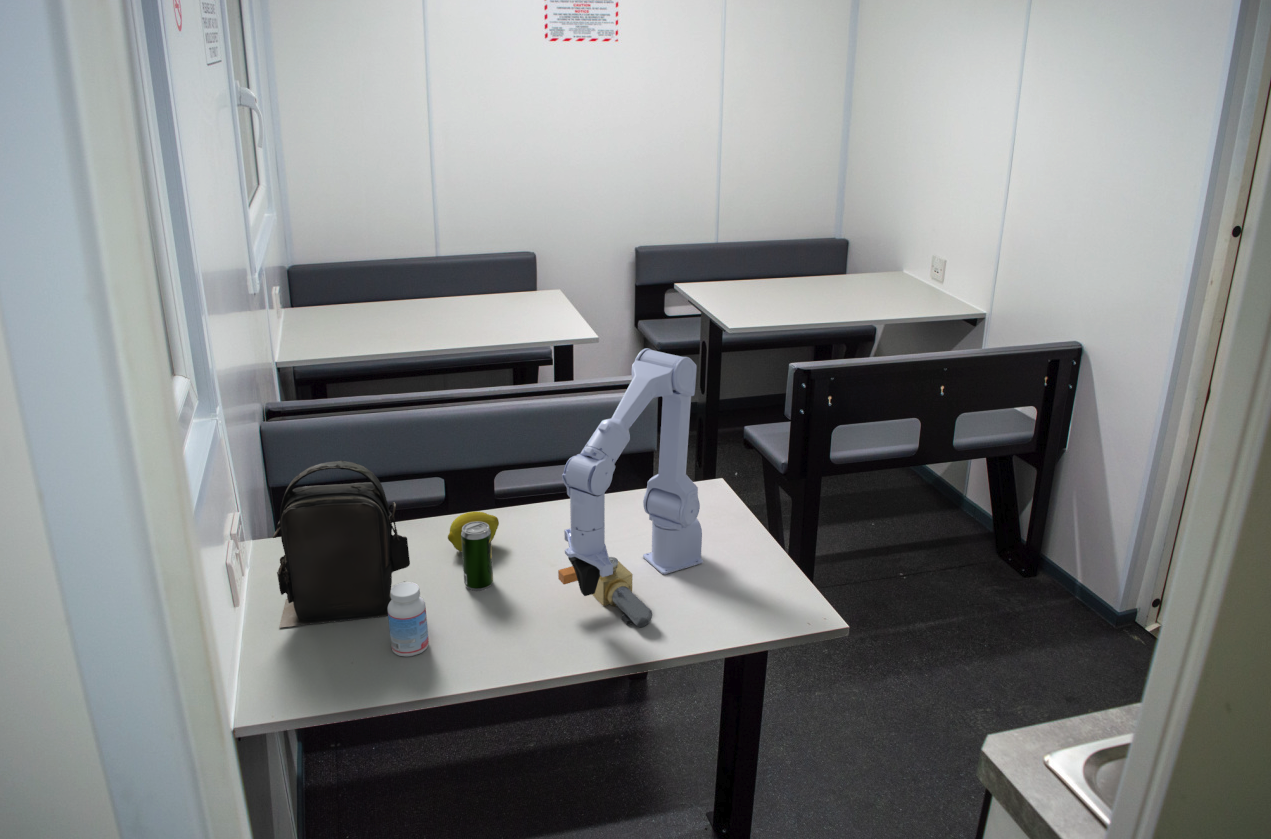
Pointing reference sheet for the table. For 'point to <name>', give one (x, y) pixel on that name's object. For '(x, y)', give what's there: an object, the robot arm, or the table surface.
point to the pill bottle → (407, 620)
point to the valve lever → (570, 576)
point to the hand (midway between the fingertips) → (588, 593)
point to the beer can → (477, 556)
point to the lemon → (467, 518)
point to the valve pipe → (622, 597)
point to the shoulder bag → (337, 549)
